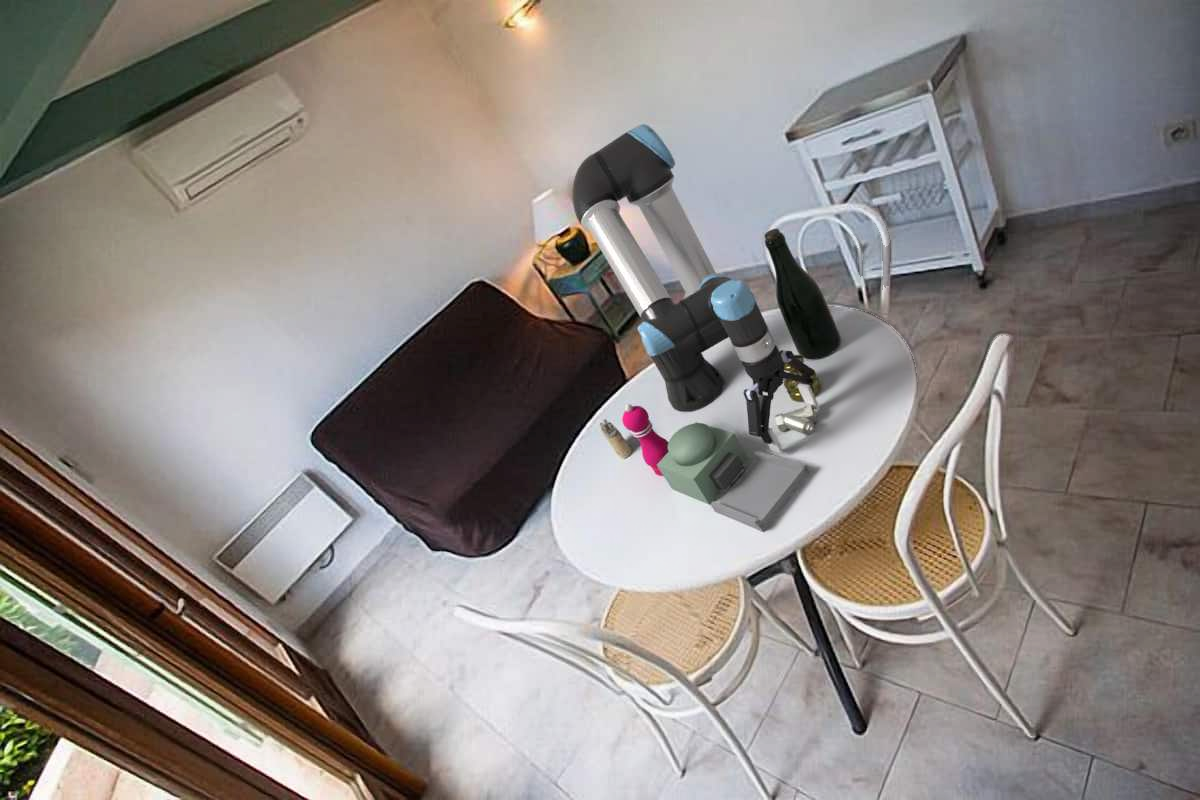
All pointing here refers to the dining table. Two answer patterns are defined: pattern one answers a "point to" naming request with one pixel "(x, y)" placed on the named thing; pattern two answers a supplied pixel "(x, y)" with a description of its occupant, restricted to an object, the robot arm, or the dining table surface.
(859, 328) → the dining table surface
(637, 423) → the pepper mill
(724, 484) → the mower housing
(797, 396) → the brass rounded piece
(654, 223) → the robot arm
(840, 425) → the dining table surface
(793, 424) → the pipe fitting
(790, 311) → the dark green wine bottle
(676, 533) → the dining table surface
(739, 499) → the tray
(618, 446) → the tan cylindrical piece
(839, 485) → the dining table surface
